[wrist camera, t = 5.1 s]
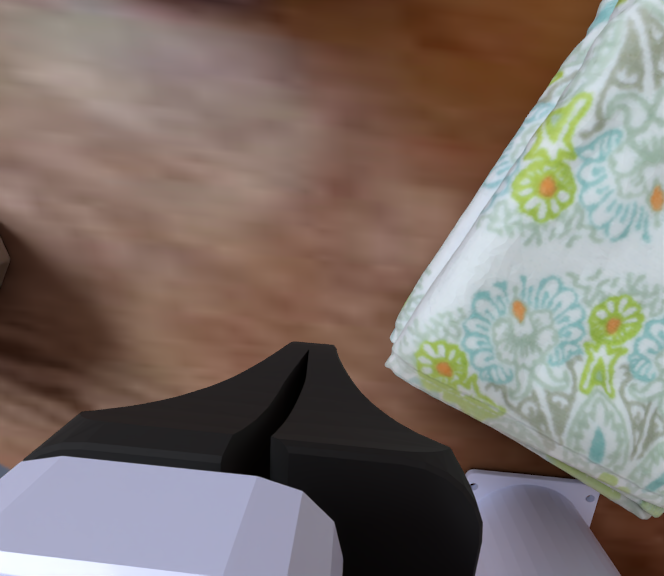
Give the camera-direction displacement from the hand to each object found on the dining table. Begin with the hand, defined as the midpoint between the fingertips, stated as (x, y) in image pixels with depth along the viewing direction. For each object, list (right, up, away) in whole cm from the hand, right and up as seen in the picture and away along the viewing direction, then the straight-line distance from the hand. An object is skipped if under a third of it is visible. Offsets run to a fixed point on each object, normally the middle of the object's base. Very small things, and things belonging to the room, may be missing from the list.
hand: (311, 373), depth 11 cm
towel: (+16, +4, +9) cm, 19 cm away
